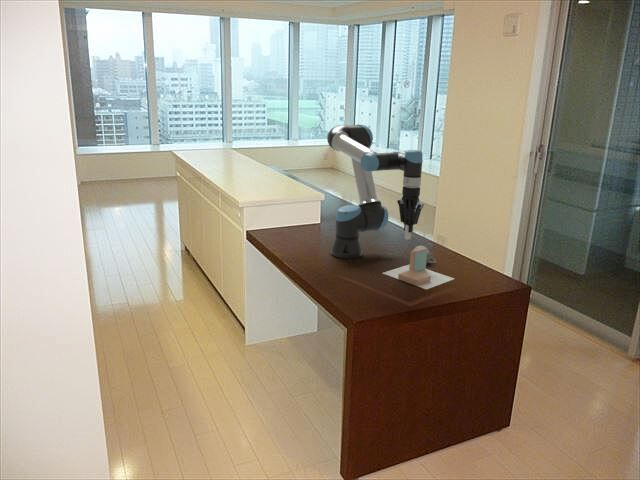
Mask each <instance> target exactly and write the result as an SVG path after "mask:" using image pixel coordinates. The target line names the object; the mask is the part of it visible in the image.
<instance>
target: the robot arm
mask: <svg viewBox="0 0 640 480" xmlns="http://www.w3.org/2000/svg"><path fill="white" fill-rule="evenodd" d="M326 139H327V140H326V141H327V144H328V146H329V147H330V148H331V149H333V150H335V151H336V152H342V153H343V154H345V155H347V156H348V157H350V158H351V162H352V168H353V174H354V179H355V184H356V188H357V189H356V190H357V194H358V198H359V200H358V201H359V203H358V205H355V204H352V205H351V204H349V205H348V204H347V205H344V206H341V207H339V208H338V209H336V212H335V232H334V233H335V235H334V240H333V244H332V247H331V248H330V255H332V257H333V256H334V257H336V258H340V259H357V258H360V257H361V256H362V255H363V248H362V245H361V242H360V233H365V232H373V231H374V232H377V231H380V230H383V229H384V228H386V227H387V225H388V222H389V212H388V209H387V207H385V206H383V205H382V202H381V200H379V199H378V197H377V192H376V186H375V182H374V177H373V172H378V171H379V172H380V171H381V172H382V171H397V170H398V171H403V180H402V192H401V193H402V194H401V195H402V197H401V199H398V200H397V202H396V203H397V204H398V208H399V210H398V211H399V218H400V222H401V223H403V231H404V238H403V239H404V240H411V239H412V232H414V231H413V230H414V225H418V223H419V219H420V215H421V213H422V212H421V211H422V209H423V208H424V204H423V203H421V202H420V198H419V197H420V195H421V184H422V172H423V171H422V170H423V169H422V168H423V162H424V160H423V157H424V156H423V155H424V154H423V151H422V150H418V149H406V150H405V152H400V151H398V150H397V151H391V152H379V153H378V152H377V151H374V150H372V149H371V148H372V146H373V142H374V135H373V132H372V130H371V129H370V127H368V126H367V125H365V124H364V125H363V124H340V125H339V124H338V125H335V126H333V127H331V129H330V130H329V131H328V133H327V138H326Z"/></svg>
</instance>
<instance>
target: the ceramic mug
mask: <svg viewBox="0 0 640 480" xmlns="http://www.w3.org/2000/svg"><path fill="white" fill-rule="evenodd" d="M423 247H424V248H427V247H426V246H424V245H417V246H415V248H413V250H416V249H419V248H423ZM435 263H437V261H436V259H435V258H433V257H432V256H431V254H430V251H429V249H428V248H427V259H426V265H427V264H435Z"/></svg>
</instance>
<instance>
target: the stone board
mask: <svg viewBox="0 0 640 480" xmlns="http://www.w3.org/2000/svg"><path fill="white" fill-rule="evenodd" d="M409 265H410V263H409V264H407V265H403V266H400V267H397V268H394V269H391V270H387V271H385V272H382V274H383V275H385V276H389V277H391V278H393V279H397V280H400V279H398V275H399V274H400V273H403V272H406V271H409ZM420 272H421V273H424V274H427V275H430V276H431V279H430V281H429V282H426V283H423V284H420V285H414V284H411V283H408V282H406V281H403V280H400V281H403V283H404V282H405V283H408V284H410V285H413V286H415V287H419V288H422V289H424V290H429V289H432V288H434V287H436V286H441V285H442V284H445V283H448V282H451V281H453V280H455V278H454V277H451V276H448V275H445V274H442V273H439V272H436V271H433V270H430V269H427V268H426V270H423V271H420Z"/></svg>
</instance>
